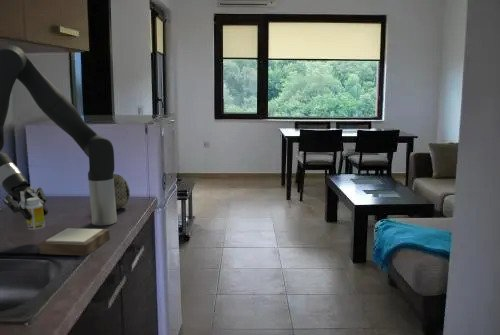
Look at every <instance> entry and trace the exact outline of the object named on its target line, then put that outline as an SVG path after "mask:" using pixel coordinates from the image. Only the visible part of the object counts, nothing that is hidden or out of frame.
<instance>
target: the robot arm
mask: <svg viewBox="0 0 500 335" xmlns="http://www.w3.org/2000/svg"><path fill="white" fill-rule="evenodd" d="M17 80H18V81H19V82H20V83H21V84H22V85H23V87H25V89H27V91H28V92H29V95H31V97H32V99H33V101H34V103H35V104H36V105H37V106H38V108H39V109H40V110H41V111H42V112H43V113H44V114H45V116H47V117H48V118H49V119H50V120H51V121H52V122H53V123H54V124H55V125H57V126H58V127H59V128H60V129H61V130H63V131H64V132H65V134H66V133H67V134H68V135H69V136H70V137H71V138H72V139H73V140H74V142H75V143H76V144H77V145H78V146H79V148H80V149H81V150H82V151H83V153H84V154H85V155H86V156H87V157H88V163H89V164H88V165H89V170H88V172H87V179H88V190H89V202H90V204H89V205H90V215H91V224H92V225H93V226H101V227H102V226H109V225H113V224H115V223H116V222H118V221H117V218H118V217H117V215H118V214H117V209H116V201H115V189H114V176H113V174H115V173H114V172H115V151H114V146H113V143H112V142H111V141H110V140H109V139H108V138H107V137H106V138H105V137H103V136H100V134H98V133H97V132H96V131H95V130H93V129H92V128H91V127H90V126H89V125H88V124H87V123H86V122H85V121H84V119H83V118H82V116H81V115H80V113H79V111H78V110H77V108H76V107H75V106H74V105H73V103H72V102H71V101H70V100H69V99H68V98H67V97H66V96H65V95H64V94H63V93H62V91H60V90H59V89H58V88H57V86H56V85H54V84H53V83H52V82H51V81H50V80H49V79H48V78H47V77H46V76H45V75H43V73H42V72H41V71H40V70H39V69H38V67H37V66H35V64H34V63H33V61H31V59H30V58H29V56H28V55H27V54H26V53H25V51H24V50H23V49H22V48H20V47H19V46H16V45H13V44H7V45H3V46H2V47H1V48H0V186H2V188H3V190H4V191H5V193H7V194H6V195H5V197H4V199H3V200H2V201H3V203H4V204H5V205H6V206H7V207H8V208H9V209H10V210H11V211H12V213H14V214H16V213H20V214H21V215H22V216H23V218H24V220H25V221H27V220H28V221H29V220H31V219H32V215H31V214H30V212H29V211H28V210H27V208H26V209H25V206H26V204H27V199H29V198H39V200H40V203H42V205H43V212H44V217H45V216H47V215H48V213H49V209H48V208H47V207H46V205H45V204H46V202H47V201H48V199H47V197H46V194H45V192H44V191H43V189H42V188H41V187H38V188H32V187H31V186H30V183H29V181H28V179H27V178H26V177H25V175H24V174H23V173H22V172H21V170H20V169H19V168H18V166H17V165H16V164H15V163H14V162H13V160H12V159H11V157H10V156H9V155H8V154H7V153H5V152H2V150H3V149H4V146H5V132H4V127H5V123H6V119H7V116H8V111H9V108H10V100H11V94H12V92H13V91H12V90H13V88H14V87H13V86H14V84H15V82H16V81H17Z"/></svg>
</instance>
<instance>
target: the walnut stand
mask: <svg viewBox="0 0 500 335" xmlns="http://www.w3.org/2000/svg"><path fill="white" fill-rule="evenodd" d="M110 237H111V236H110V229H109V228H108V229H106V228H73V227H71V228H70V227H69V228H68V227H65V228H63V229H61V230H60V231H59V232H56V233H55V234H53V235H51V236H49V237H47V238H46V239H44V240H42V241H41V242H39V243H38V245H39V247H38V248H39V255H40V254H41V255H59V256H60V255H61V256H62V255H63V256H65V255H66V256H84V255H87V254H89V253H90V254H92V253H93V252H94V251H95V250H97V249H99V248H100V247H101V246H103V245H104V244H105V243H107V242H108V241H109V240H110ZM90 254H89V255H90ZM87 256H88V255H87Z"/></svg>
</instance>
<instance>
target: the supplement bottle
mask: <svg viewBox="0 0 500 335" xmlns="http://www.w3.org/2000/svg"><path fill="white" fill-rule="evenodd" d="M26 208H27V210H28V211H29V212H30V214H31V215H32V219H31V220H29V221H28V220H26V227H27V229H28V230H30V231H36V230H42V229H44V228H45V226H46V221H45V216H44V212H43V205H42V203H40V200H39V198H29V199H27V203H26V204H25V209H26Z"/></svg>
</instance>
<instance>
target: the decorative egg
mask: <svg viewBox="0 0 500 335" xmlns="http://www.w3.org/2000/svg"><path fill="white" fill-rule="evenodd" d="M113 176H114V189H115V201H116V210H120V209H123V208H124V207H125V206H127V204H128V202H129V200H130V196H131V194H130V193H131V191H130V186H129V184H128V181H127V180H126V179H125V178H124V177H123V176H122V175H120V174H118V173H117V174H116V173H113Z"/></svg>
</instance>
